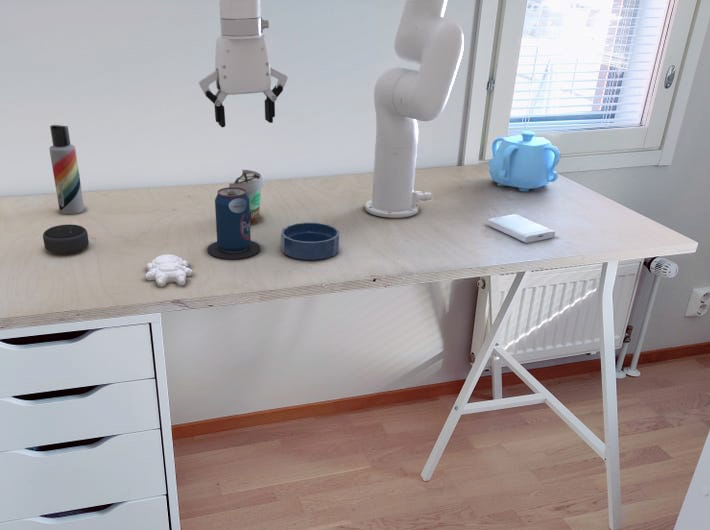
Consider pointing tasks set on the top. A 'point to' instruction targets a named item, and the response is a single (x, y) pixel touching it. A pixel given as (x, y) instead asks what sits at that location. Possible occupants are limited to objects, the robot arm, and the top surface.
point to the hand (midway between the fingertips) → (245, 123)
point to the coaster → (218, 253)
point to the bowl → (310, 241)
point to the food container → (251, 191)
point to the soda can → (232, 219)
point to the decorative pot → (524, 161)
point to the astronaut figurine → (168, 270)
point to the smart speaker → (65, 239)
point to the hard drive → (521, 228)
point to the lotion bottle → (65, 171)
